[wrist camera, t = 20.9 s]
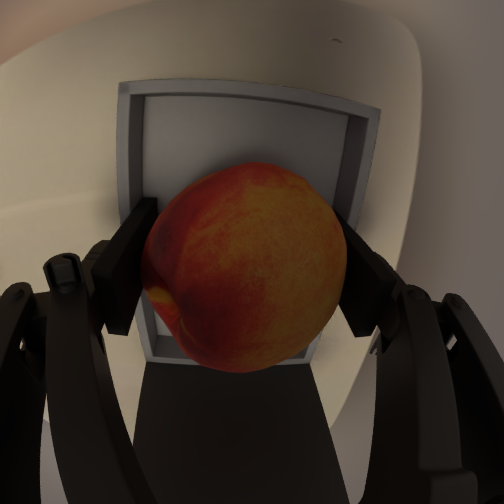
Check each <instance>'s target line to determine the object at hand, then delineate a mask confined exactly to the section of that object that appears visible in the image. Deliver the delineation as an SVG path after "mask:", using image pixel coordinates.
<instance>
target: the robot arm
mask: <svg viewBox="0 0 504 504" xmlns="http://www.w3.org/2000/svg"><path fill="white" fill-rule="evenodd" d="M333 211H334V213H335V215H336V217H337V219H338V221H339V223H340V225H341V227H342V230H343V234H344V237H345V241H346V244H347V266H346V275H345V280H344V284H343V289H342V293H341V297H340V301H339V303H338V304H339V306H340V308H341V310H342V312H343V314H344V316H345V318H346V320H347V322H348V324H349V326H350V328H351V330H352V332H353V334H354V336H355V337H365V336H371V335H372V333H373V331H374V329H375V327H376V325H377V326H378V327H379V329H380V333H379V335H378V337H377V339H376V341H375V343H374V344H373V346H372V348H371V349H370V354H372V353H373V351H374V349H376V348H377V352H376V355H377V374H376V400H375V415H374V427H373V436H372V446H371V453H370V460H369V467H368V473H367V479H366V484H365V490H364V494H363V497H362V499H361V501H360V502H359V503H358V504H504V362H503V360H502V358H501V357H500V355H499V353H498V351H497V350H496V348H495V346H494V344H493V343H492V341H491V339H490V337H489V336H488V334H487V333H486V331H485V329H484V328H483V326H482V325H481V323H480V322H479V320H478V318H477V317H476V315H475V314H474V312H473V311H472V310H471V308H470V307H469V305H468V304H467V303H466V302H465V300H464V299H462V298H461V296H459V295H457V294H452V293H447V294H446V295H445V296H444V298H443V300H442V302H436V301H431V298H430V296H429V295H428V293H427V292H425V291H424V290H423V289H421V288H420V287H417V286H415V285H409V284H408V285H406V284H405V282H404V281H403V280H402V279H401V278H400V276H399V275H398V274H397V273H396V272H395V270H393V268H392V267H391V266H390V265H389V263H388V262H387V261H386V260H385V259H384V258H383V257H382V256H380V255H379V254H377V253H376V252H373V251H372V249H371V248H370V247H369V246H368V245H367V244H366V243H365V242H364V241H363V239H362V238H361V237H360V236H359V235H358V234H357V233H356V232H355V231H354V230H353V228H352V227H351V226H350V225H349V224H348V223H347V222H346V221H345V220H344V219H343V218H342V217H341V216H340V215H339V214H338V213H337V212H336V211H335V210H334V209H333ZM157 218H158V208H157V198H151V197H143V198H142V199H141V200H140V202H139V203H138V204H137V205H136V207H135V208H134V209H133V211H132V212H131V213H130V214H129V216H128V217H127V218H126V220H125V221H124V222H123V224H122V225H121V226H120V228H119V229H118V230H117V232H116V233H115V235H114V236H113V237H112V239H111V240H101V241H100V242H98V243H97V244H95V245H94V246H93V247H92V248H91V250H90V251H89V252H88V254H87V255H86V256H85V258H84V259H83V260H82V262H81V261H80V258H79V256H78V255H76V254H74V253H62V254H59V255H56V256H54V257H52V258H50V259H49V260H48V261H47V262H46V263H45V264H44V266H43V270H44V273H45V276H46V279H47V282H48V285H49V288H50V291H49V292H42V293H35V294H34V293H33V290H32V288H31V285H30V284H28V283H26V282H19V283H15V284H12V285H11V286H10V287H9V288H7V289H6V290H5V292H4V293H3V294H2V296H1V298H0V504H41V495H40V447H41V433H42V423H43V414H44V407H45V400H46V393H47V403H48V413H49V421H50V429H51V435H52V441H53V447H54V452H55V456H56V461H57V465H58V470H59V474H60V478H61V481H62V485H63V488H64V492H65V495H66V498H67V501H68V504H158V503H157V501H156V499H155V497H154V495H153V493H152V491H151V489H150V487H149V485H148V482H147V480H146V478H145V476H144V473H143V471H142V469H141V466H140V464H139V461H138V459H137V456H136V454H135V451H134V449H133V446H132V443H131V440H130V438H129V435H128V432H127V429H126V426H125V423H124V420H123V417H122V413H121V410H120V407H119V403H118V400H117V396H116V392H115V388H114V384H113V380H112V376H111V372H110V368H109V363H108V358H107V353H106V348H105V343H104V338H103V336H102V333H101V330H102V328H103V325H104V323H105V325H106V328H107V331H108V334H115V335H124V336H128V333H129V329H130V326H131V323H132V320H133V317H134V314H135V311H136V308H137V305H138V302H139V299H140V296H141V293H142V290H143V285H142V282H141V279H140V261H141V256H142V252H143V249H144V245H145V242H146V239H147V237H148V235H149V233H150V231H151V229H152V227H153V225H154V223H155V221H156V220H157ZM454 335H455V337H456V339H457V341H456V343H455V344H454V346H453V347H452V349H451V350H449V349H448V348H447V345H448V343H449V342H450V341H451V339H452V338H453V336H454ZM21 341H22V343H23V345H22V348H21V349H20V343H21Z"/></svg>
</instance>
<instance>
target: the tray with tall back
mask: <svg viewBox="0 0 504 504" xmlns="http://www.w3.org/2000/svg"><path fill="white" fill-rule="evenodd" d="M380 113H381V110H380V109H378V108H375V107H372V106H368V105H365V104H361V103H358V102H354V101H351V100H347V99H343V98H339V97H335V96H331V95H327V94H322V93H317V92H313V91H308V90H302V89H297V88H291V87H285V86H278V85H271V84H264V83H255V82H245V81H234V80H218V79H155V80H139V81H128V82H120V83H119V87H118V103H117V129H116V160H117V186H118V202H119V214H120V224H121V225H122V224H123V222H124V221H125V220H126V218H127V217H128V216H129V214H130V213H131V212H132V211H133V209H134V208H135V207H136V205H137V204H138V203H139V202H140V200H141V199H142V198H143V197H151V198H157V208H158V216H159V215H160V214H161V212H162V211H163V210H164V209H165V208H166V207H167V205H168V204H169V202H170V201H171V200H172V199H173V198H175V197H176V196H177V195H178V194H179V193H180V192H181V191H182V190H183V189H185V188H186V187H187V186H189V185H190V184H192V183H194V182H195V181H197V180H199V179H200V178H202V177H204V176H207V175H209V174H211V173H214V172H216V171H222V170H224V169H226V168H228V167H232V166H235V165H239V164H243V163H246V162H263V163H269V164H274V165H277V166H279V167H282V168H285V169H287V170H289V171H291V172H293V173H295V174H297V175H299V176H301V177H303V178H305V179H306V180H307V181H308V183H309V184H310V185H311V186H312V187H313V188H314V189H315V190H316V191H317V192H318V193H319V194H320V195H321V196H322V197H323V198H324V199H325V201H326V202H327V203H328V204H329V205H330V207H331V208H332V209H334V210H335V211H336V212H337V213H338V214H339V215H340V216H341V217H342V218H343V219H344V220H345V221H346V222H347V223H348V224H349V225H350V226H351V227H352V228H353V230H354V231H355V230H356V226H357V222H358V219H359V215H360V211H361V207H362V203H363V199H364V195H365V190H366V186H367V182H368V177H369V172H370V168H371V163H372V158H373V153H374V148H375V142H376V137H377V131H378V125H379V120H380ZM135 318H136V322H137V327H138V331H139V335H140V339H141V343H142V347H143V351H144V354H145V358H146V366H145V371H144V376H143V382H142V387H141V393H140V399H139V405H138V411H137V418H136V424H135V432H134V439H133V449H134V451H135V454H136V456H137V459H138V461H139V464H140V466H141V469H142V471H143V473H144V476H145V478H146V480H147V482H148V485H149V487H150V489H151V491H152V493H153V495H154V497H155V499H156V501H157V503H158V504H350V503H349V499H348V495H347V492H346V488H345V484H344V480H343V477H342V474H341V469H340V466H339V462H338V459H337V455H336V451H335V448H334V444H333V441H332V437H331V434H330V430H329V427H328V424H327V420H326V417H325V413H324V410H323V406H322V403H321V400H320V396H319V393H318V390H317V386H316V383H315V380H314V377H313V373H312V370H311V367H310V361H311V359H312V356H313V354H314V351H315V349H316V346H317V344H318V341H319V339H320V336H321V333H322V331H323V330H322V331H321V332H320V333H319V334H318V335H317V337H316V338H315V339H314V340H313V341H312V342H311V343H310V344H309V345H308V346H307V347H305V348H304V349H303V350H301V351H300V352H299V353H297V354H296V355H294V356H292V357H290V358H288V359H286V360H284V361H282V362H280V363H278V364H275V365H273V366H270V367H267V368H265V369H261V370H256V371H251V372H245V373H237V372H225V371H221V370H217V369H213V368H209V367H205V366H201V365H200V364H198V363H197V362H195V361H194V360H192V359H191V358H189V357H188V356H186V355H185V354H184V352H183V351H182V350H181V348H180V347H179V345H178V344H177V342H176V340H175V338H174V337H173V335H172V334H171V332H170V331H169V329H168V328H167V326H166V325H165V323H164V322H163V320H162V319H161V318H160V317H159V315H158V314H157V313H156V311H155V310H154V308H153V306H152V305H151V303H150V301H149V299H148V297H147V295H146V292H145V290H144V288H143V290H142V293H141V296H140V299H139V302H138V305H137V308H136V311H135Z"/></svg>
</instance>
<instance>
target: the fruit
mask: <svg viewBox="0 0 504 504" xmlns="http://www.w3.org/2000/svg"><path fill="white" fill-rule="evenodd" d="M346 266H347V244H346V241H345V237H344V234H343V230H342V227H341V225H340V223H339V221H338V219H337V217H336V215H335V213H334V211H333V209H332V208H331V207H330V205H329V204H328V203H327V202H326V201H325V199H324V198H323V197H322V196H321V195H320V194H319V193H318V192H317V191H316V190H315V189H314V188H313V187H312V186H311V185H310V184H309V183H308V181H307V180H306V179H305V178H303V177H301V176H299V175H297V174H295V173H293V172H291V171H289V170H287V169H285V168H282V167H279V166H277V165H274V164H269V163H263V162H246V163H243V164H239V165H235V166H232V167H228V168H226V169H224V170H222V171H216V172H214V173H211V174H209V175H207V176H204V177H202V178H200V179H199V180H197V181H195V182H194V183H192V184H190V185H189V186H187V187H186V188H185V189H183V190H182V191H181V192H180V193H179V194H178V195H177V196H176V197H175V198H173V199H172V200H171V201H170V202H169V204H168V205H167V207H166V208H165V209H164V210H163V211H162V212H161V214H160V215H159V216H158V218H157V220H156V221H155V223H154V225H153V227H152V229H151V231H150V233H149V235H148V237H147V239H146V242H145V245H144V249H143V252H142V256H141V261H140V279H141V282H142V285H143V288H144V290H145V292H146V295H147V297H148V299H149V301H150V303H151V305H152V306H153V308H154V310H155V311H156V313H157V314H158V315H159V317H160V318H161V319H162V320H163V322H164V323H165V325H166V326H167V328H168V329H169V331H170V332H171V334H172V335H173V337H174V338H175V340H176V342H177V344H178V345H179V347H180V348H181V350H182V351H183V352H184V354H185V355H186V356H188V357H189V358H191V359H192V360H194V361H195V362H197V363H198V364H200V365H201V366H205V367H209V368H213V369H217V370H221V371H225V372H237V373H245V372H251V371H256V370H261V369H265V368H267V367H270V366H273V365H275V364H278V363H280V362H282V361H284V360H286V359H288V358H290V357H292V356H294V355H296V354H297V353H299V352H300V351H301V350H303V349H304V348H305V347H307V346H308V345H309V344H310V343H311V342H312V341H313V340H314V339H315V338H316V337H317V335H318V334H319V333H320V332H321V331H322V330H323V328H324V327H325V325H326V324H327V323H328V321H329V320H330V318H331V317H332V315H333V314H334V312H335V309H336V307H337V305H338V303H339V301H340V297H341V293H342V289H343V284H344V280H345V275H346Z"/></svg>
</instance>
